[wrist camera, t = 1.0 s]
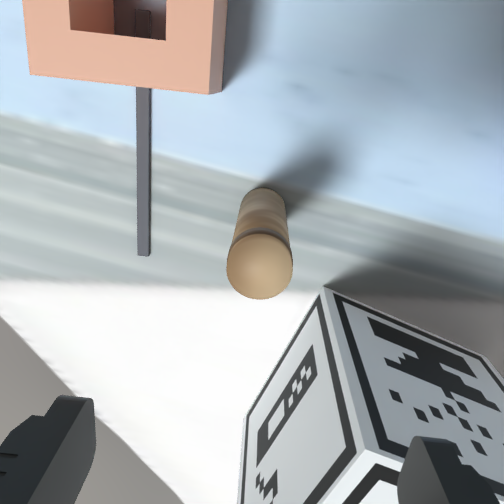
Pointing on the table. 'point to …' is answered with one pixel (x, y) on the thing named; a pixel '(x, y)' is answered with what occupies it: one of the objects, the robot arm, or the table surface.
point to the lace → (143, 146)
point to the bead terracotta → (128, 45)
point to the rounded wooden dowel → (260, 246)
